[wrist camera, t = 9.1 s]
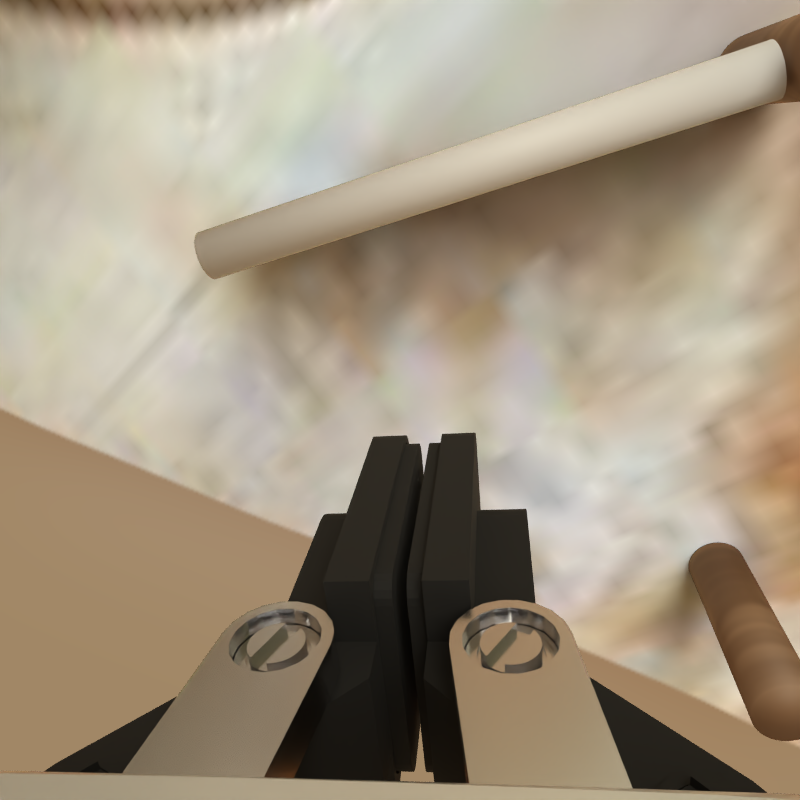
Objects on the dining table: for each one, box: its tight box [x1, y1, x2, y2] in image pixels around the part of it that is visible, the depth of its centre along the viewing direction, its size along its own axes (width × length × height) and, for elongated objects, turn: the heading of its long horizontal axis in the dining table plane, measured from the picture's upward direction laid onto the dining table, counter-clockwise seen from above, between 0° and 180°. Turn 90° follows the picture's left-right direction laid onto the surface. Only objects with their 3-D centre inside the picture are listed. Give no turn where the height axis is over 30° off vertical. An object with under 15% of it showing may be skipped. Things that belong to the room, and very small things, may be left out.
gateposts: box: [689, 14, 800, 741], centre depth 25 cm, size 23×2×9 cm, turn 5°
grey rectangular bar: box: [194, 39, 787, 279], centre depth 24 cm, size 18×2×7 cm, turn 108°
